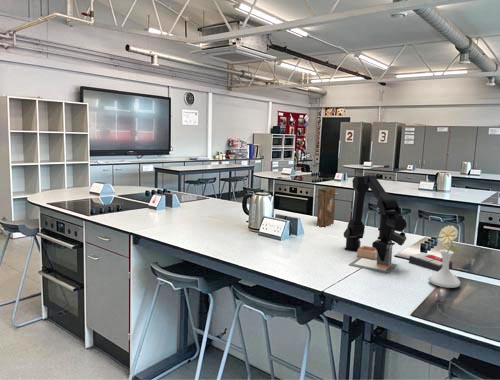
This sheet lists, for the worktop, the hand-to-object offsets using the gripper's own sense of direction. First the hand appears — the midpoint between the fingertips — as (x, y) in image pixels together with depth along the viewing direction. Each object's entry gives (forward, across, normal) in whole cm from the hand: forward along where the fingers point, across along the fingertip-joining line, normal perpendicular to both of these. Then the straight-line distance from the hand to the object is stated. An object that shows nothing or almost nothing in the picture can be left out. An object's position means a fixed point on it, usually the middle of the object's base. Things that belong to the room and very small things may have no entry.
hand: (384, 259), depth 172 cm
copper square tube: (+4, +12, +11) cm, 17 cm away
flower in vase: (+4, -8, -26) cm, 28 cm away
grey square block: (+3, 0, 0) cm, 3 cm away
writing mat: (+4, 0, +5) cm, 6 cm away
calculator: (+4, +17, -16) cm, 24 cm away
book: (+4, +66, +58) cm, 88 cm away
